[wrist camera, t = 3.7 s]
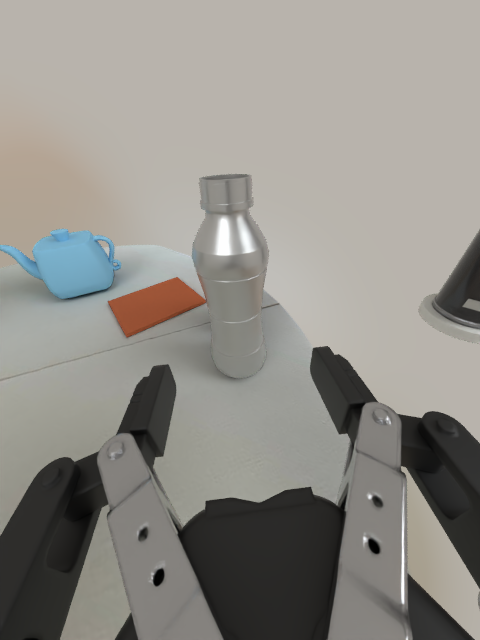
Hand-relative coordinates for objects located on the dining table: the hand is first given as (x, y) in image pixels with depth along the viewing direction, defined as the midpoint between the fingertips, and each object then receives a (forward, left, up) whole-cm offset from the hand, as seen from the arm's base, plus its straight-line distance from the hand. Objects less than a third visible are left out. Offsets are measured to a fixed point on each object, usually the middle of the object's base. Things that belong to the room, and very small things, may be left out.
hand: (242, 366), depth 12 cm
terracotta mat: (-3, -29, -12) cm, 32 cm away
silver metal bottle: (-6, -8, -12) cm, 16 cm away
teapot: (+7, -46, -12) cm, 48 cm away
